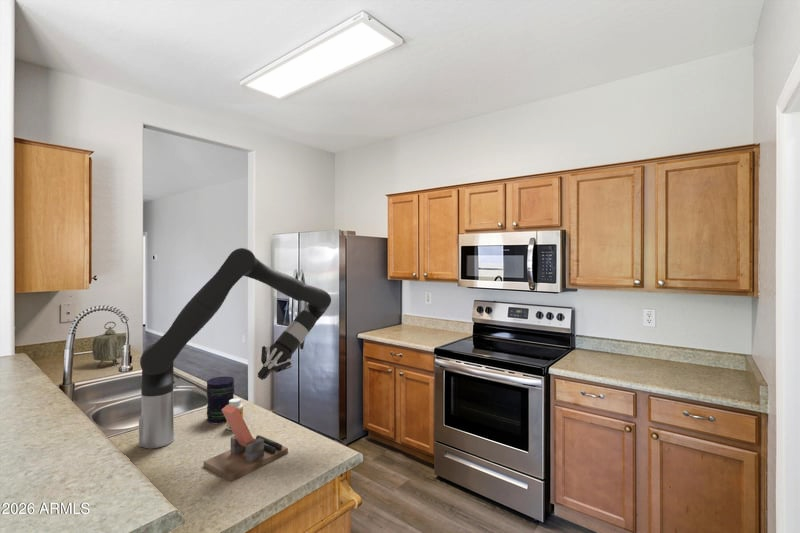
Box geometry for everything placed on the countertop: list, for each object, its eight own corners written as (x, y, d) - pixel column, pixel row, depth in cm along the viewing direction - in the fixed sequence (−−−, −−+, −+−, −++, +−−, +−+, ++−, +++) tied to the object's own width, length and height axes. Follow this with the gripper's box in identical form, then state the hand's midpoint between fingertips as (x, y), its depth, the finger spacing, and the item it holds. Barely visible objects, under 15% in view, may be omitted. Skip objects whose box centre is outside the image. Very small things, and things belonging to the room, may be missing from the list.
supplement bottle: (228, 432, 143) (228, 403, 143) (225, 426, 148) (225, 399, 148) (244, 428, 146) (244, 400, 146) (241, 423, 151) (241, 396, 151)
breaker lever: (246, 440, 127) (227, 404, 121) (256, 444, 124) (237, 407, 118) (240, 446, 125) (221, 409, 120) (250, 451, 122) (231, 413, 117)
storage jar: (207, 415, 158) (206, 378, 157) (234, 411, 162) (233, 375, 162) (206, 425, 149) (206, 385, 148) (235, 421, 153) (234, 382, 153)
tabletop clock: (115, 361, 237) (115, 319, 236) (128, 362, 235) (128, 320, 234) (92, 368, 222) (91, 323, 222) (106, 369, 221) (105, 324, 220)
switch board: (260, 441, 137) (260, 422, 136) (287, 452, 129) (287, 432, 128) (203, 466, 120) (203, 444, 120) (231, 481, 112) (230, 458, 112)
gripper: (275, 323, 141) (241, 364, 132) (305, 341, 137) (272, 384, 129) (280, 332, 147) (248, 372, 139) (309, 350, 144) (278, 391, 135)
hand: (259, 378), depth 134 cm, fingers closed
